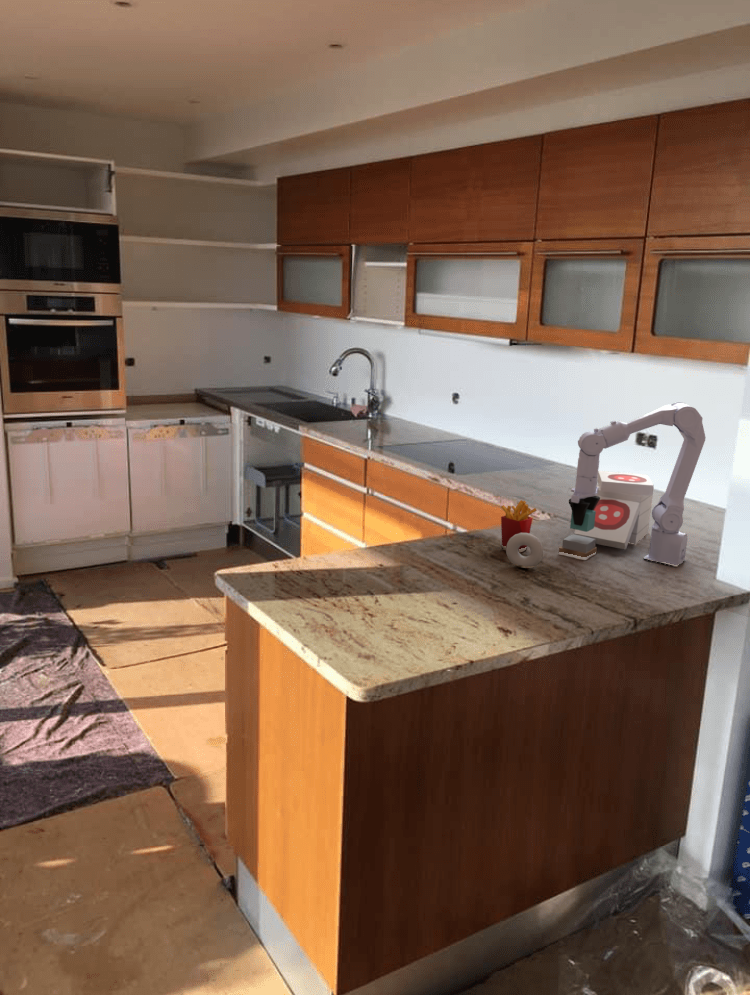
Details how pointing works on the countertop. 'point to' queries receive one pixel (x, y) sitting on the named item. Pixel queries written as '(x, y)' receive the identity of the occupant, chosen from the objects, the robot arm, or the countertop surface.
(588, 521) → the teal cube
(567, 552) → the block
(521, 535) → the donut
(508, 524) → the french fries
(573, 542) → the tower top
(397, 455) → the countertop surface
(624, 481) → the stacked pizza boxes
